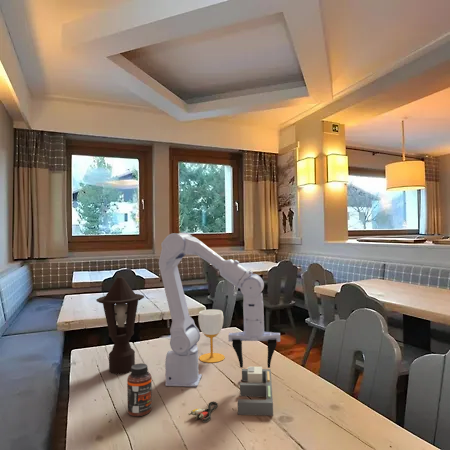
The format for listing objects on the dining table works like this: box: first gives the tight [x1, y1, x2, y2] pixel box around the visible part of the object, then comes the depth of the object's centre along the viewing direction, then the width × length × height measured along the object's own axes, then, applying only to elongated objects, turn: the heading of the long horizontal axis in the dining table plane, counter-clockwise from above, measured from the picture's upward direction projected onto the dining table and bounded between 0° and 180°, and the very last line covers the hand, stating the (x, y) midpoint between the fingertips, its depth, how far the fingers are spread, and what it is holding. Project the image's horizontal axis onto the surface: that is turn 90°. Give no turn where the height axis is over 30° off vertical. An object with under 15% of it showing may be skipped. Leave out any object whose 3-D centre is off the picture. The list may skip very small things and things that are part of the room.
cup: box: [197, 308, 226, 364], centre depth 125 cm, size 9×9×16 cm
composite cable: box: [187, 401, 219, 423], centre depth 88 cm, size 10×5×2 cm, turn 146°
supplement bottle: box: [126, 362, 153, 417], centre depth 90 cm, size 6×6×11 cm
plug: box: [247, 366, 263, 383], centre depth 102 cm, size 4×5×5 cm
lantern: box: [95, 276, 145, 375], centre depth 117 cm, size 15×15×30 cm
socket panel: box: [237, 368, 274, 416], centre depth 97 cm, size 8×20×3 cm, turn 174°
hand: (255, 366), depth 102 cm, fingers open, 7 cm apart
